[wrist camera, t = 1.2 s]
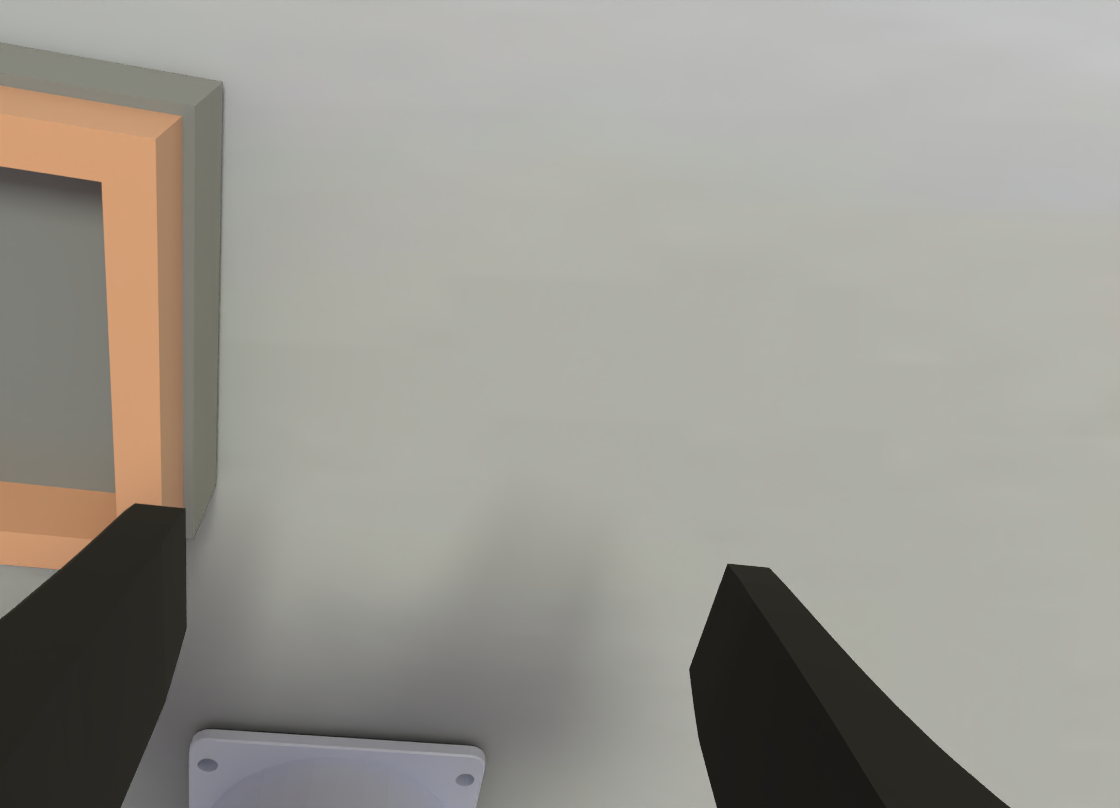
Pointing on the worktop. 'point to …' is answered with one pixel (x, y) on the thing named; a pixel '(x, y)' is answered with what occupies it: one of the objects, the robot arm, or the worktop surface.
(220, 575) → the worktop surface
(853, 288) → the worktop surface
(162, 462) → the base
